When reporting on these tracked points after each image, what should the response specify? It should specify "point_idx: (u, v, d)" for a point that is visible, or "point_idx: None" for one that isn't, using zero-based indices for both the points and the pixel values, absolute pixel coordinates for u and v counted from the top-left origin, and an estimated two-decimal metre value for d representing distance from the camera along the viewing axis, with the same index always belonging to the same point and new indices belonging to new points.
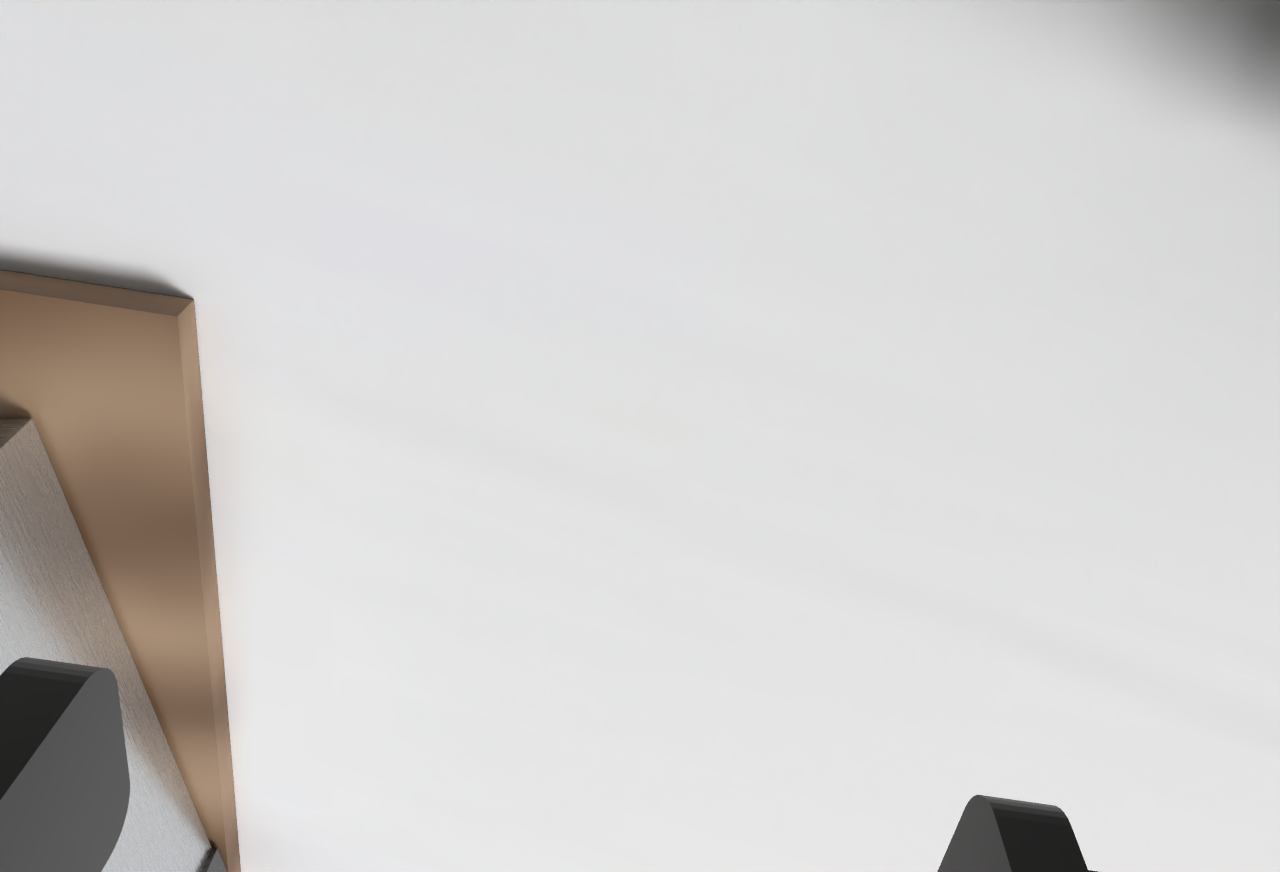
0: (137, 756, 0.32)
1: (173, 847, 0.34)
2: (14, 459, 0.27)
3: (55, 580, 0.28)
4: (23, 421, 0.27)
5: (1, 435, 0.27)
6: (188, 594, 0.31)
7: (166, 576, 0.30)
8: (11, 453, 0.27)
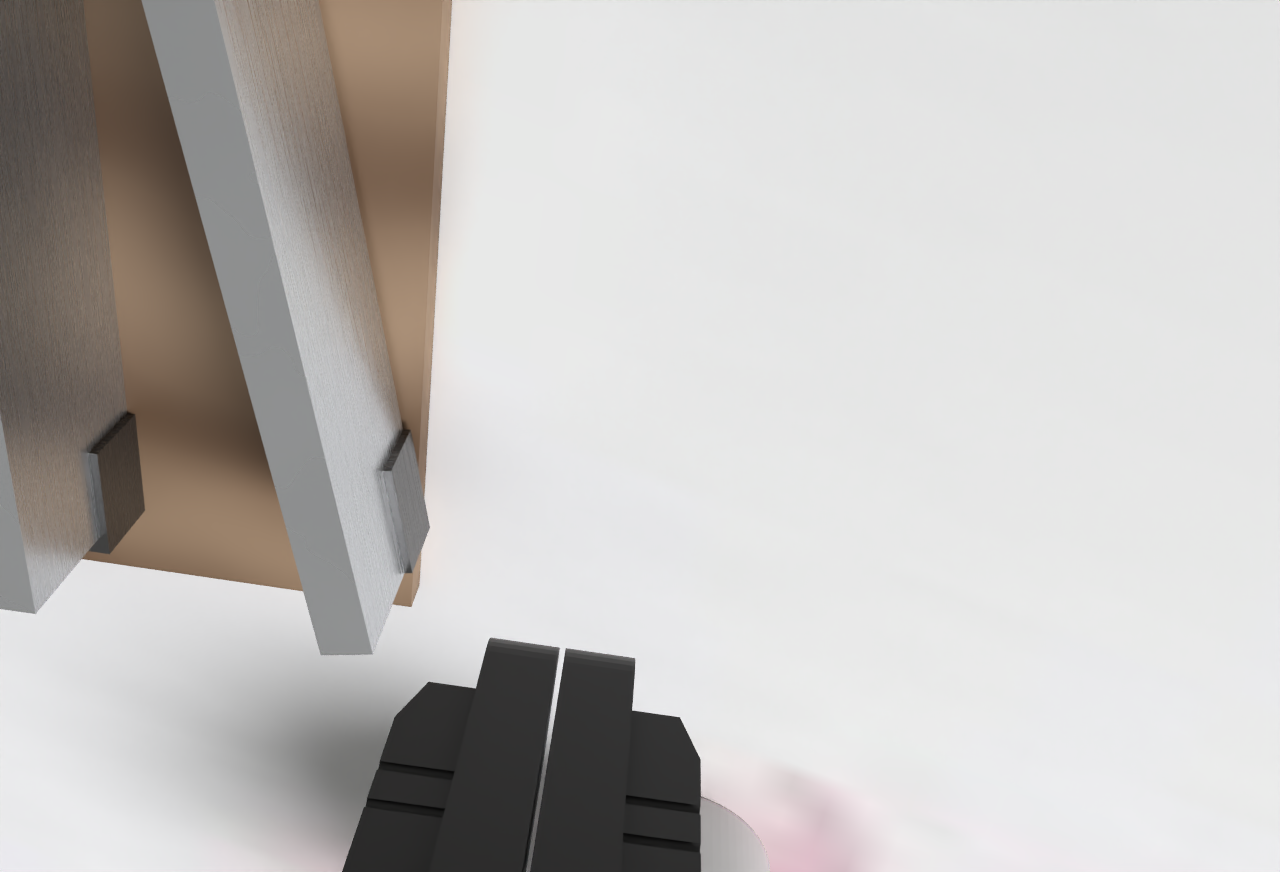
0: (337, 212, 0.23)
1: (370, 383, 0.24)
2: None
3: None
4: None
5: None
6: None
7: None
8: None
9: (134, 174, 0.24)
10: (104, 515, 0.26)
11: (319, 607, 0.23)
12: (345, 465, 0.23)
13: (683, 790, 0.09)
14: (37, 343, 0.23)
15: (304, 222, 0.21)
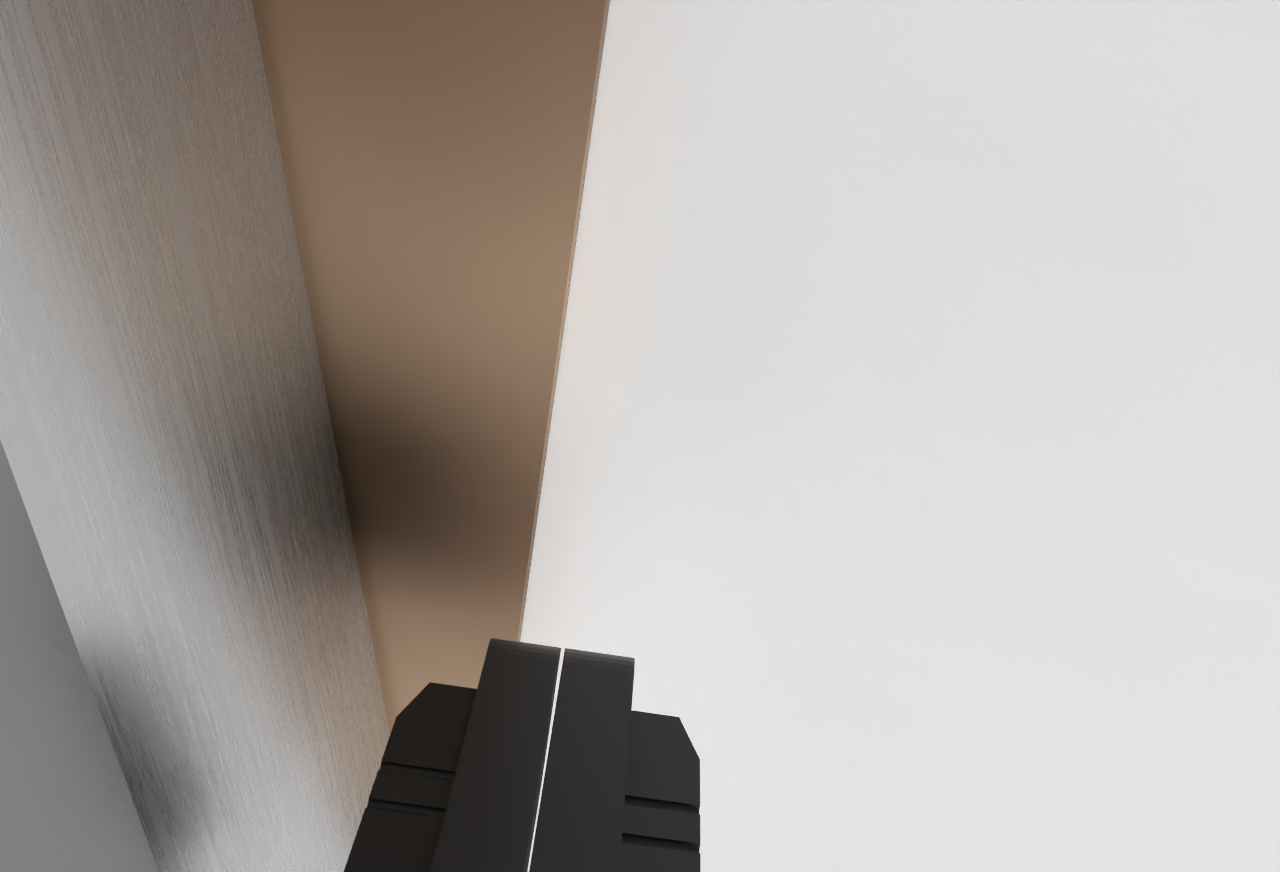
0: (322, 648, 0.11)
1: None
2: None
3: None
4: None
5: None
6: (543, 136, 0.10)
7: (487, 65, 0.10)
8: None
9: None
10: None
11: None
12: None
13: (683, 790, 0.09)
14: None
15: (253, 753, 0.09)
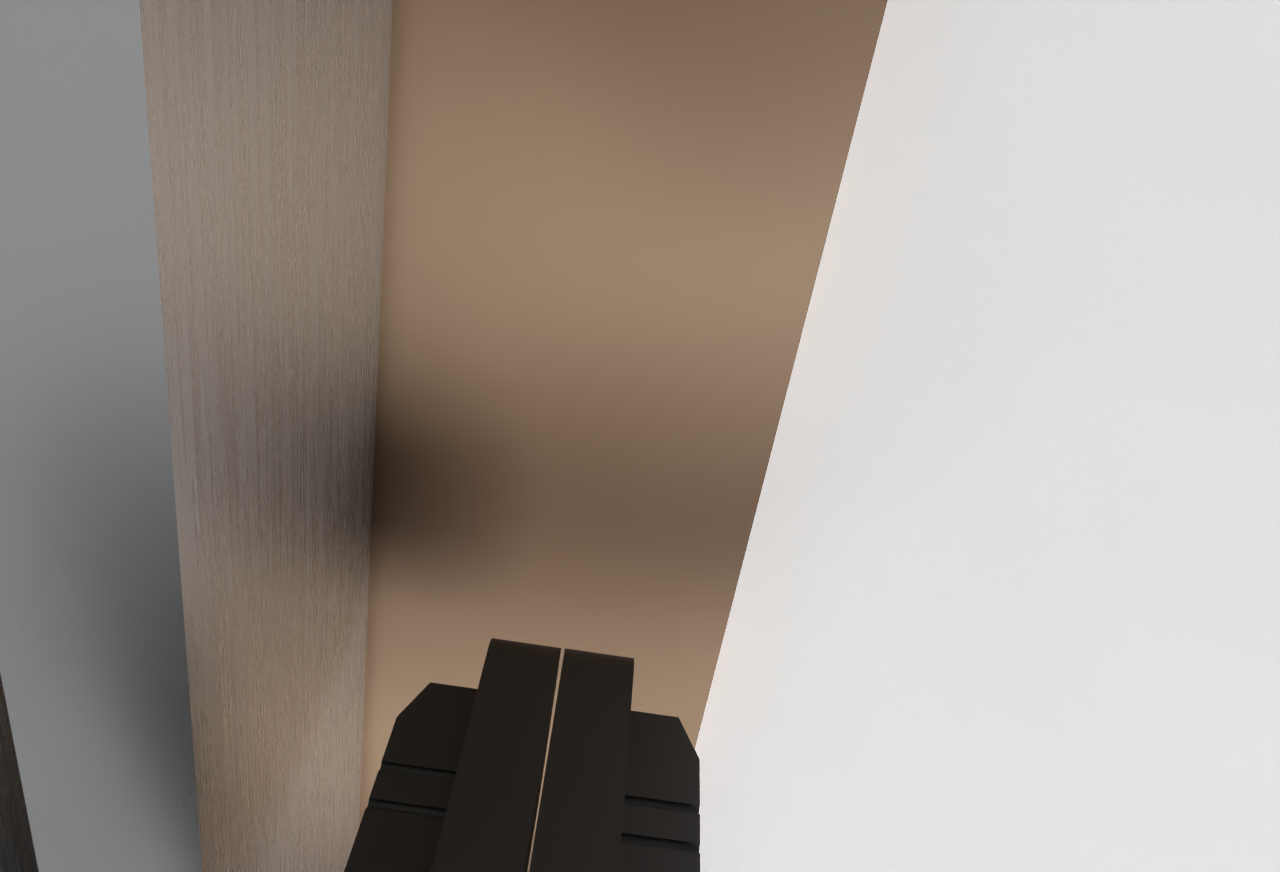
0: (335, 649, 0.11)
1: None
2: None
3: None
4: None
5: None
6: (813, 112, 0.10)
7: (764, 39, 0.10)
8: None
9: None
10: None
11: None
12: None
13: (683, 790, 0.09)
14: None
15: (277, 757, 0.10)
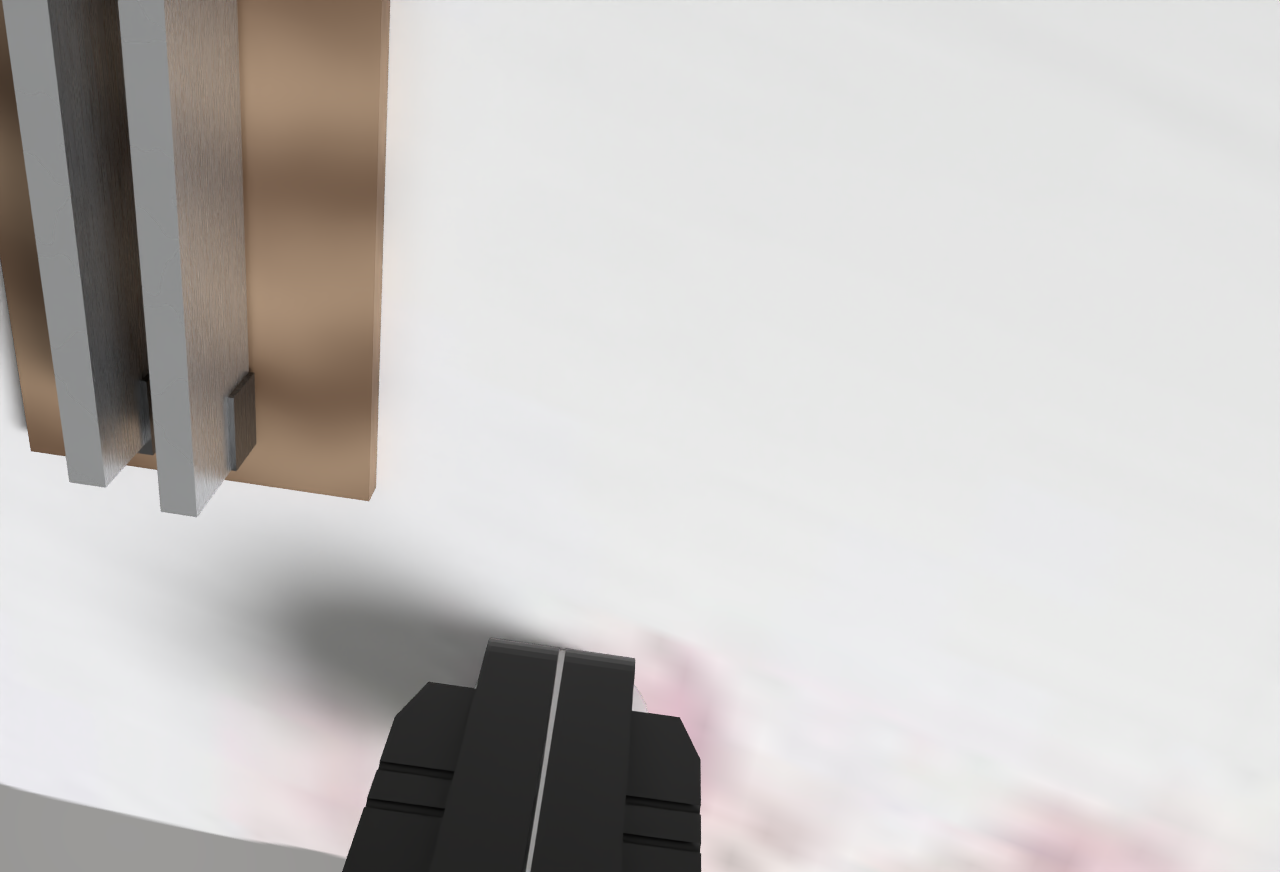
0: (227, 222, 0.34)
1: (229, 337, 0.36)
2: None
3: None
4: None
5: None
6: (367, 41, 0.33)
7: (348, 19, 0.33)
8: None
9: None
10: (150, 426, 0.38)
11: (166, 478, 0.35)
12: (201, 388, 0.34)
13: (683, 790, 0.09)
14: (111, 300, 0.34)
15: (202, 229, 0.32)
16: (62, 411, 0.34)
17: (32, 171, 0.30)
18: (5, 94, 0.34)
